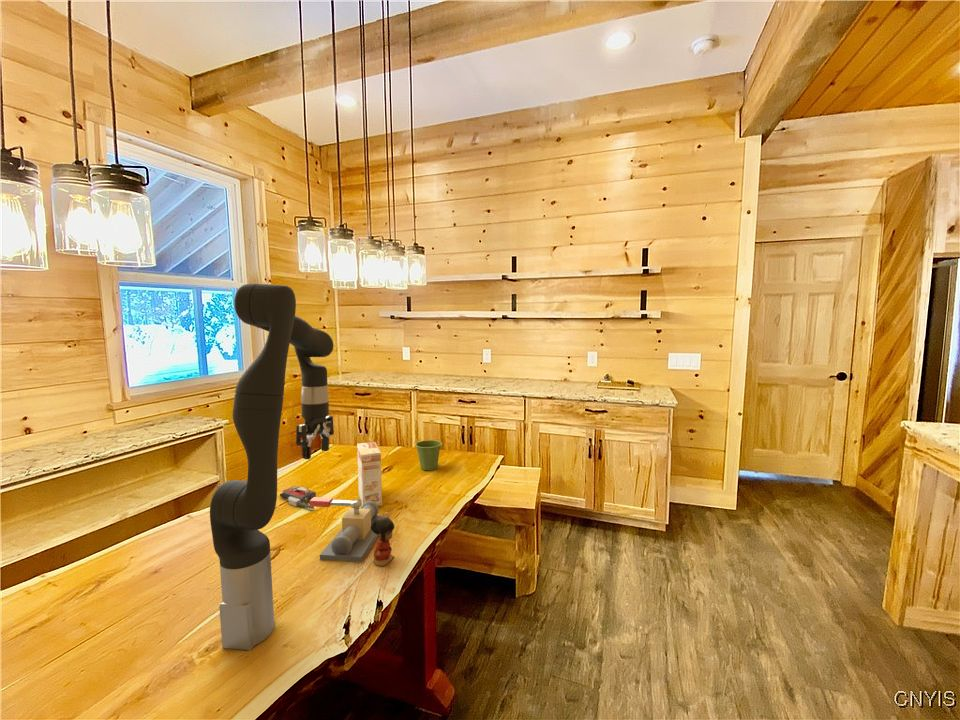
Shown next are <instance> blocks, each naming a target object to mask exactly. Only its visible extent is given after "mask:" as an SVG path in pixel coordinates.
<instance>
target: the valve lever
mask: <svg viewBox="0 0 960 720" xmlns="http://www.w3.org/2000/svg"><path fill="white" fill-rule="evenodd" d="M309 505H310V506H312V507H314V508H315V507H316V508H330V507H331V506H340V507H341V506H343V507H344V506H345V507H350V508H362V500H361V499H360V498H355V499H352V500H348V499H347V500H346V499H345V500H344V499H334V498H333V497H326V496H325V497H324V496H321V497H320V496H319V497H318V496H316V497H313V498H312V499H311V500H310V501H309Z"/></svg>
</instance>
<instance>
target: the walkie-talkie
mask: <svg viewBox="0 0 960 720" xmlns="http://www.w3.org/2000/svg"><path fill="white" fill-rule="evenodd" d="M316 494H317V493H316V491H313V490H311V489H309V488H306V487H303V486H301V487H300V486H291V487H288V488H286V489H283V491H282V493H280V494H279V497H280V498H282V499H283V498H284V500H286V499H287V500H286V501H288V502H289V503H288V504H289V505H291V506H294V507H296V508H297V507H299V506H300V507H304V508H306V509H311V510H312V509H313V510H314V509H315V507H312V506H310V504H307V503H310V500H311V499H312V498H313V497H317V495H316Z"/></svg>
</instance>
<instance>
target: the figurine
mask: <svg viewBox="0 0 960 720" xmlns="http://www.w3.org/2000/svg"><path fill="white" fill-rule="evenodd" d="M394 529H395V524H394V522H393V521H392V519H390V517H389V518H381V519H374V520H373V523H372V525H371V530H372V531H373V532H374V533H375V534H378V535H379V536H378V539H377V540H376V543H375V544H376V546H375V548H374V550H373V557H374V559H373V561H372V562H373V564H374V565H375V566H378V567H379V566H380V567H384V566H386V565H388V564H389V563H390V562H392V561H393V559H394V556H393V554H392V551H393V550H392V549H393V548H392V547H391V543H390V540H391V539H392V538H393V531H394Z"/></svg>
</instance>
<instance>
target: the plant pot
mask: <svg viewBox="0 0 960 720" xmlns="http://www.w3.org/2000/svg"><path fill="white" fill-rule="evenodd" d="M414 445H415V447H416V451H417V453H418V459H419V465H420V469H421V471H434V470H436V469H437V468H438V466H439V465H438V464H439V457H440V451H441V447H442V445H443V442H441V441H439V440H435V439H426V440H420V441H417V442H416V443H415V444H414Z"/></svg>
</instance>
